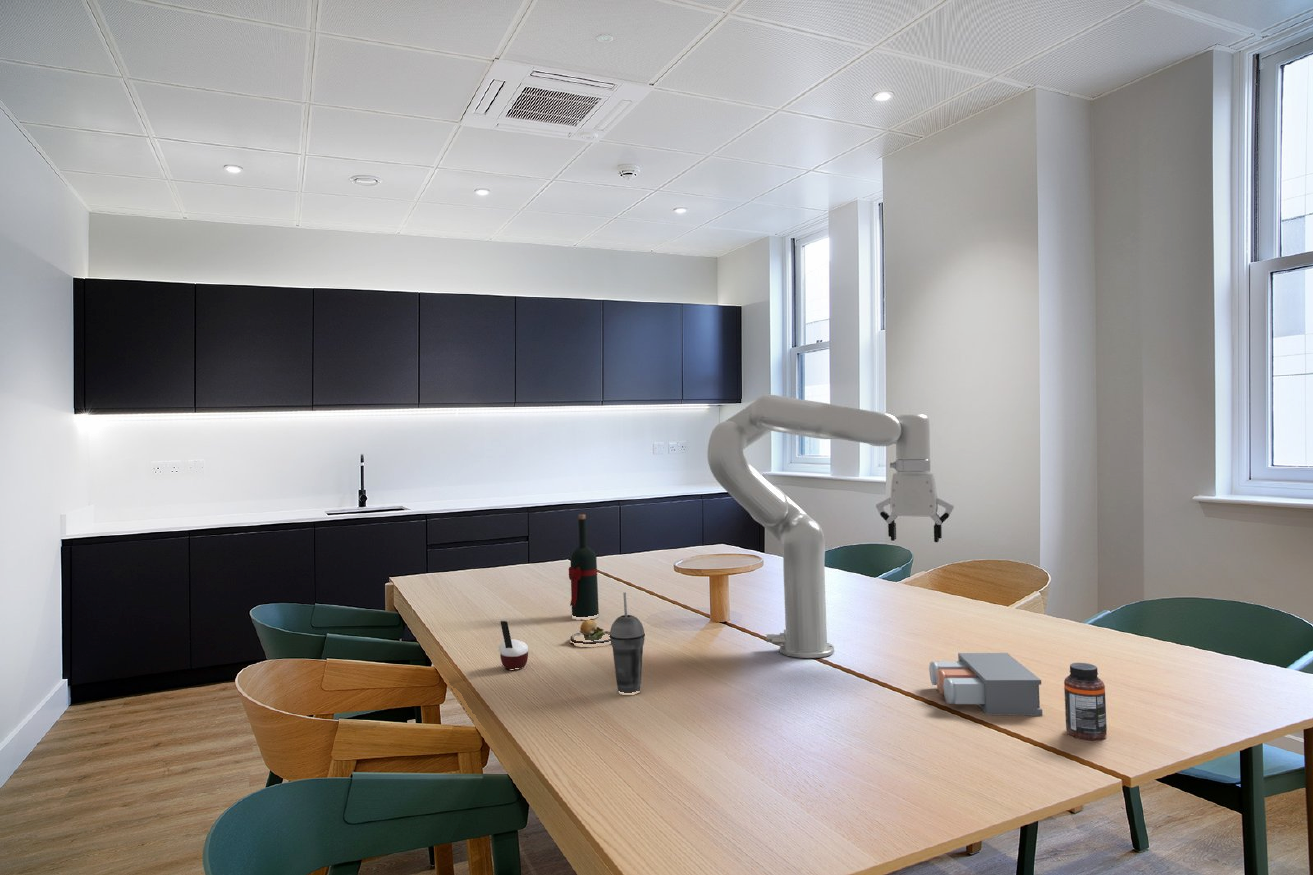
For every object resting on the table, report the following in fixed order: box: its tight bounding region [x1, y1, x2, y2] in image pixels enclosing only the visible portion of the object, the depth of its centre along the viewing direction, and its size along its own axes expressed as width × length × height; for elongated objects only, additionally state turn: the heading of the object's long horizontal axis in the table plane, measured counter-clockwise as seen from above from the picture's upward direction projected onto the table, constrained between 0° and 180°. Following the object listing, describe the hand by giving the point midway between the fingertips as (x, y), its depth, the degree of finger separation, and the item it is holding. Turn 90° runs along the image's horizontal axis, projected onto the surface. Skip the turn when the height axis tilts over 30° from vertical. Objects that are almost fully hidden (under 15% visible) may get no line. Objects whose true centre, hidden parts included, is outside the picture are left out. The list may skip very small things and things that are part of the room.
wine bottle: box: [568, 513, 600, 617], centre depth 231 cm, size 8×10×30 cm
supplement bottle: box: [1063, 662, 1108, 741], centre depth 130 cm, size 6×6×11 cm
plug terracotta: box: [936, 669, 975, 695], centre depth 150 cm, size 9×4×4 cm, turn 84°
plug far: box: [928, 660, 967, 686], centre depth 155 cm, size 9×4×4 cm, turn 84°
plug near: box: [943, 678, 985, 705], centre depth 144 cm, size 9×4×4 cm, turn 84°
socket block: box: [957, 652, 1043, 716], centre depth 149 cm, size 9×18×6 cm, turn 174°
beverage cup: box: [609, 591, 646, 693], centre depth 161 cm, size 7×7×20 cm
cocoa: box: [498, 620, 529, 670], centre depth 180 cm, size 10×6×12 cm, turn 144°
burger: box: [569, 619, 611, 644], centre depth 203 cm, size 12×12×8 cm
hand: (914, 540), depth 184 cm, fingers open, 9 cm apart
